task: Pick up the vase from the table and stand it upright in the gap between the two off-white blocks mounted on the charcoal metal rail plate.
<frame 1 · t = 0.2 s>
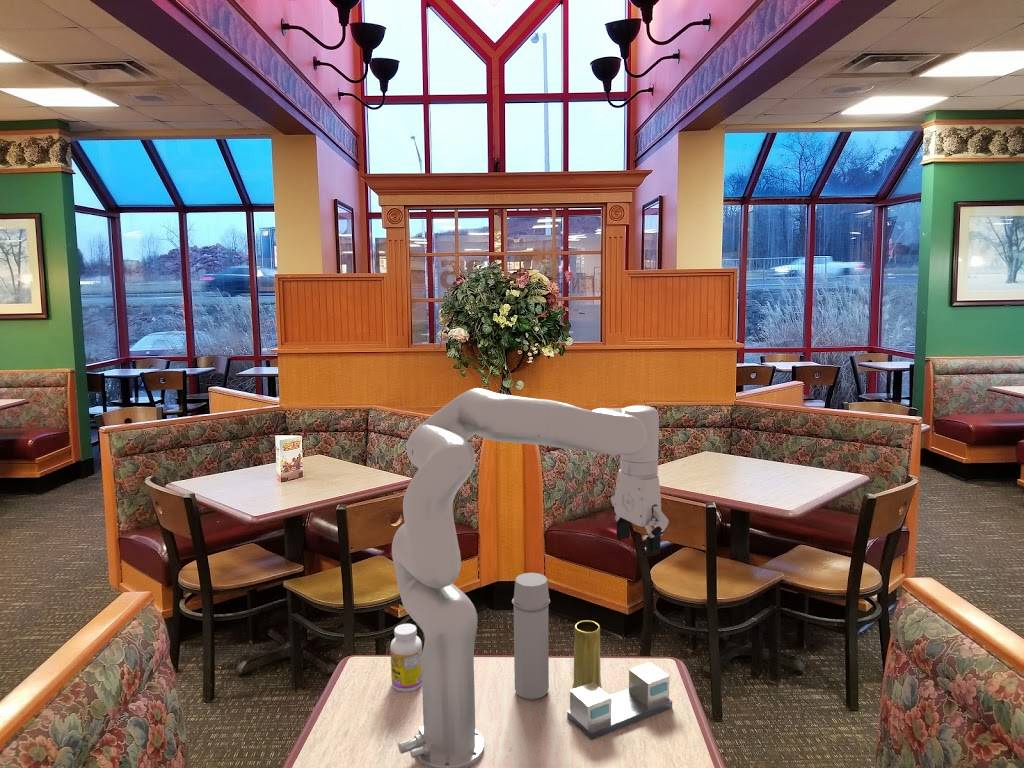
hand: (637, 546, 152), 30 cm above the table, tool pointing down, fingers open, 9 cm apart
water bottle: (531, 689, 154), on the table
vase: (587, 690, 154), on the table
supplement bottle: (407, 685, 157), on the table
rail board: (620, 712, 146), on the table
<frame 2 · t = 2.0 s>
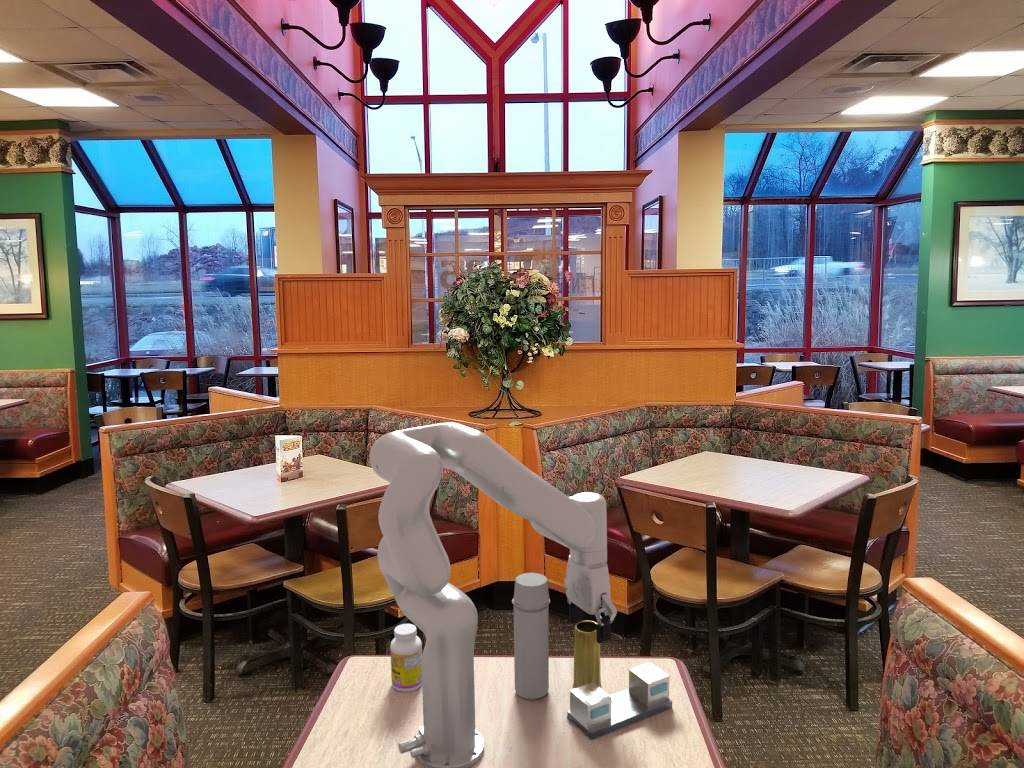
hand: (589, 630, 152), 13 cm above the table, tool pointing down, fingers open, 9 cm apart
nothing on the table moved.
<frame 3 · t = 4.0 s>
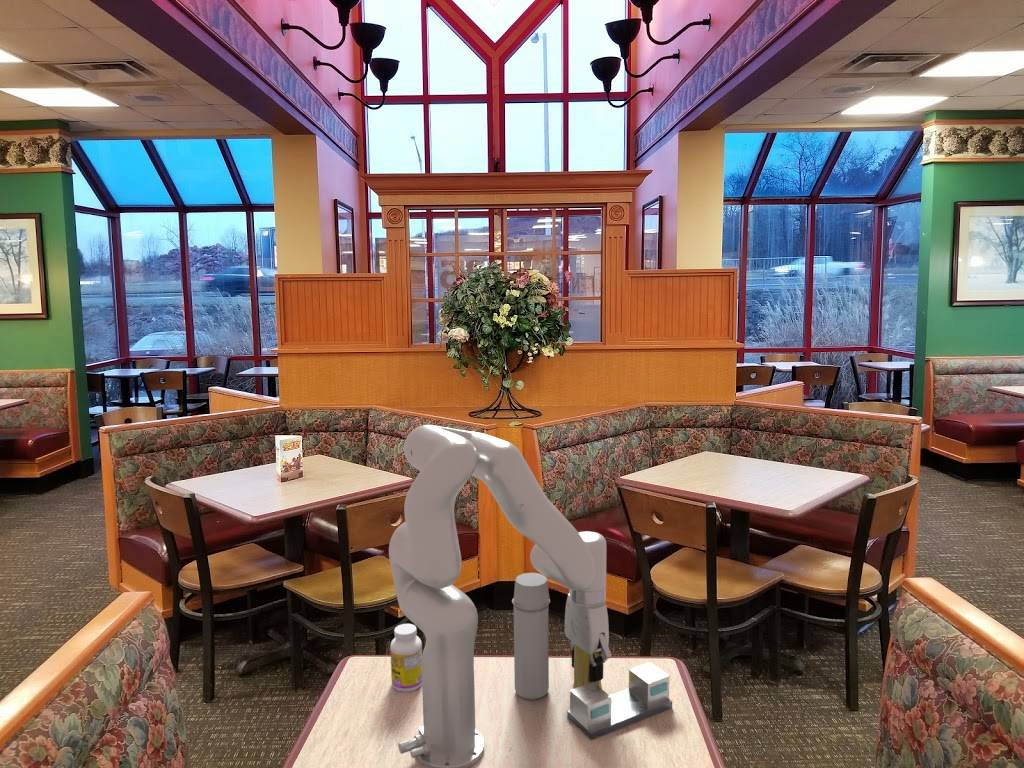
hand: (587, 672, 154), 4 cm above the table, tool pointing down, fingers closed on vase, 5 cm apart
vase: (587, 690, 154), on the table, touching gripper
everything else where it was.
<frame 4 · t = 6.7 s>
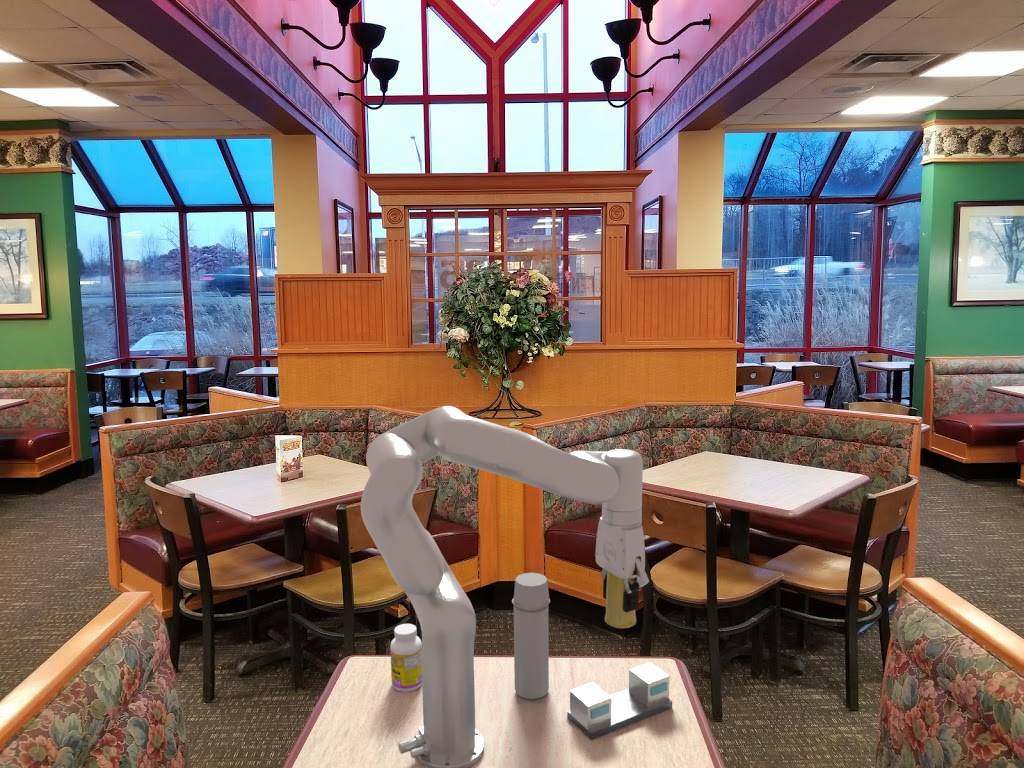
hand: (620, 602, 142), 23 cm above the table, tool pointing down, fingers closed on vase, 5 cm apart
vase: (620, 622, 143), point 19 cm above the table, touching gripper
everything else where it was.
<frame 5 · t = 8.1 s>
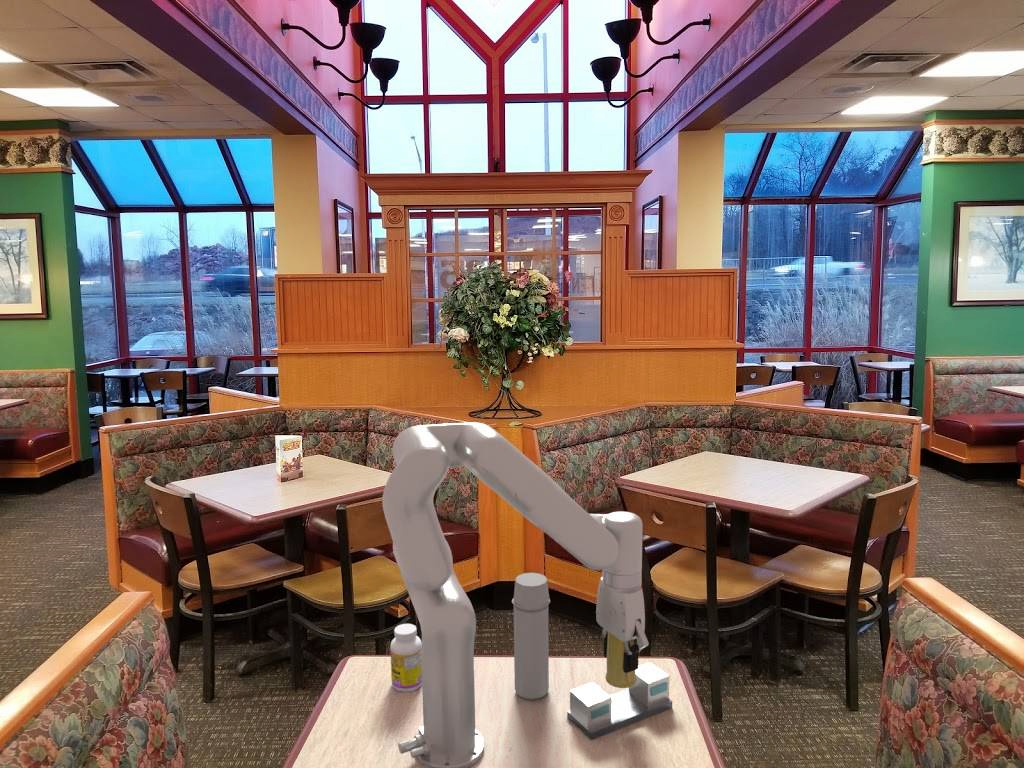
hand: (620, 661, 144), 11 cm above the table, tool pointing down, fingers closed on vase, 5 cm apart
vase: (620, 680, 145), point 7 cm above the table, touching gripper
everything else where it was.
when the fingers open (7 cm above the table, at t = 9.4 s): vase drops 1 cm, resting on rail board.
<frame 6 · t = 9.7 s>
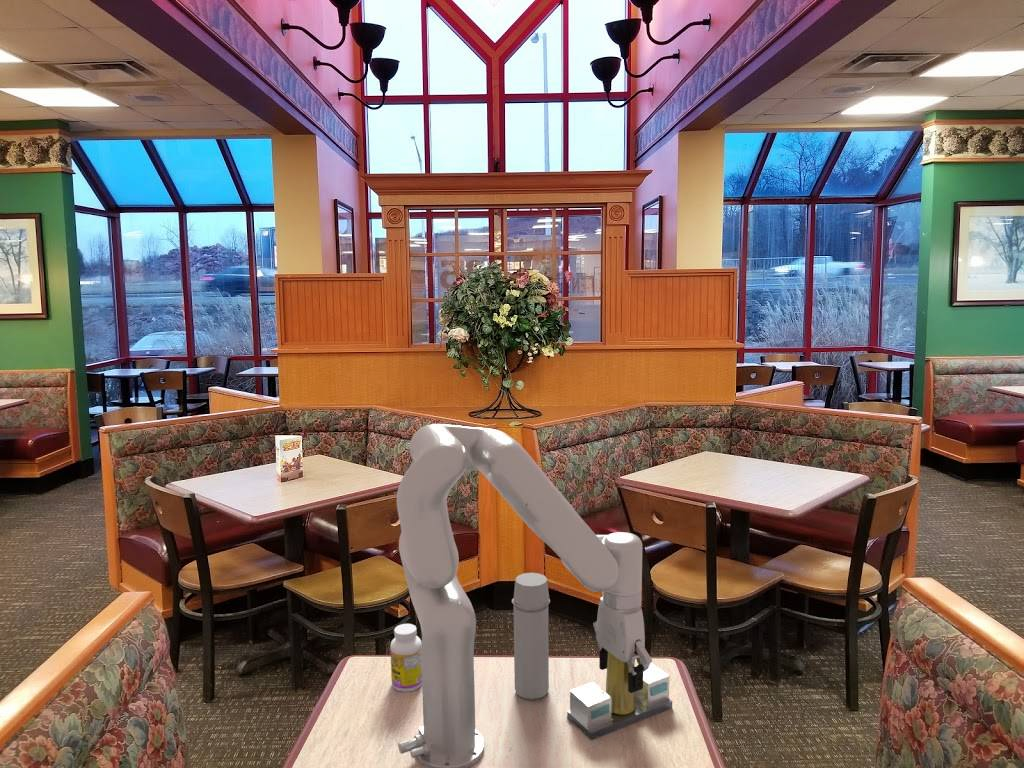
hand: (620, 678, 145), 7 cm above the table, tool pointing down, fingers open, 8 cm apart
vase: (619, 707, 146), point 1 cm above the table, touching rail board
everything else where it was.
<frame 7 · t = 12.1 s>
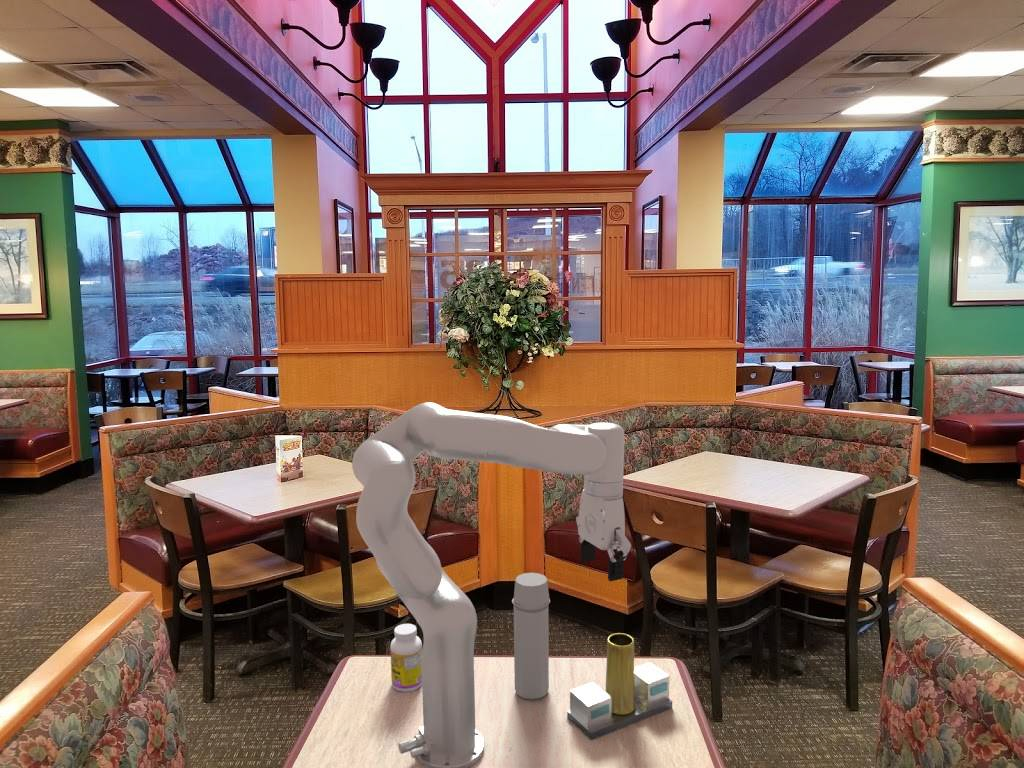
hand: (601, 570, 145), 29 cm above the table, tool pointing down, fingers open, 9 cm apart
nothing on the table moved.
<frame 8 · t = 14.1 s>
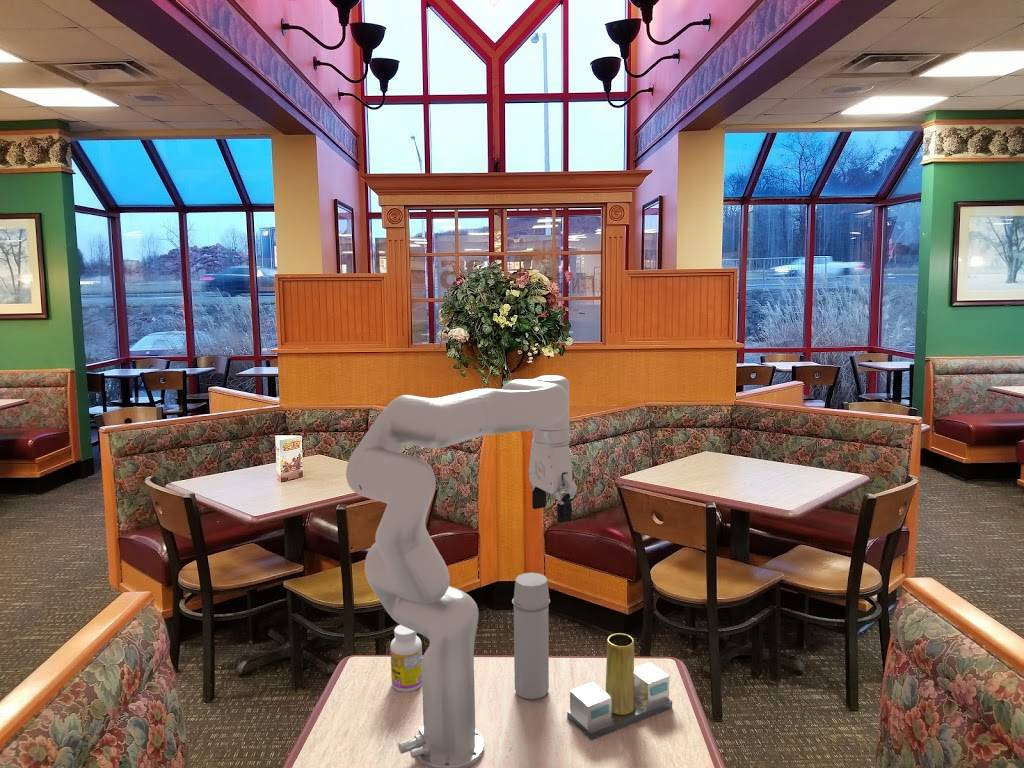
hand: (551, 514, 154), 36 cm above the table, tool pointing down, fingers open, 9 cm apart
nothing on the table moved.
at the end: vase 0.1 cm off-centre on the rail board, point 1.3 cm above the rail board's base; vase tilted 0°; the gripper is holding nothing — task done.
